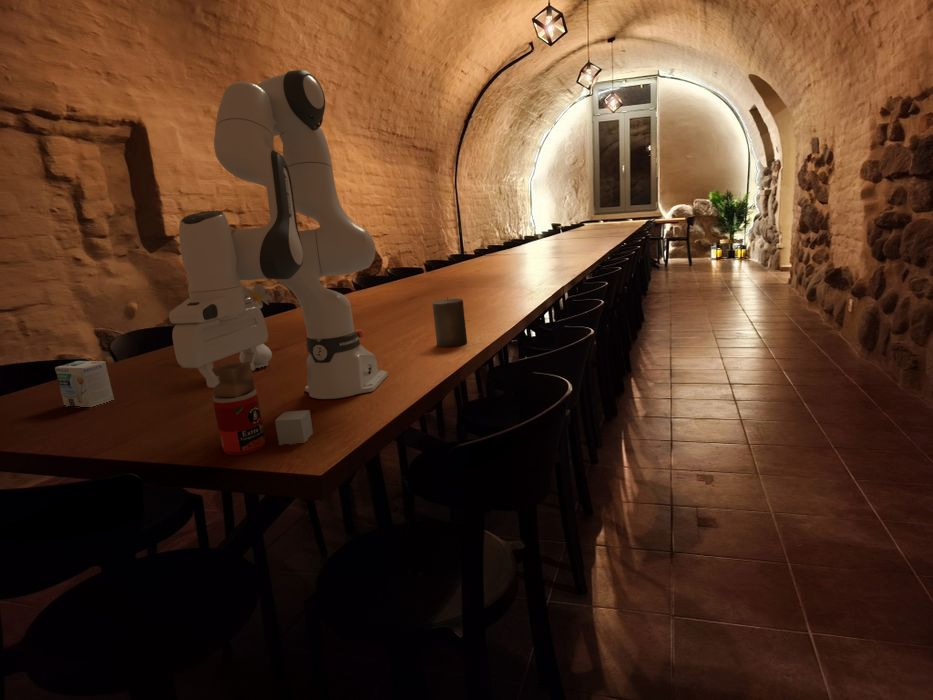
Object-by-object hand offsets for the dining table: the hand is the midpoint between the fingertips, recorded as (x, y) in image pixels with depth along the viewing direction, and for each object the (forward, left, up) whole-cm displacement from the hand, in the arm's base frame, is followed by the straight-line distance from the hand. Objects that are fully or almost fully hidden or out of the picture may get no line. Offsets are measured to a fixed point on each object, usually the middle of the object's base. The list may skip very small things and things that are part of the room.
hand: (232, 378), depth 107 cm
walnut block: (0, 0, -3) cm, 3 cm away
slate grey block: (-5, +8, -14) cm, 17 cm away
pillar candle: (-84, +12, -14) cm, 86 cm away
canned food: (0, 0, -14) cm, 14 cm away
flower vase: (-57, -42, -14) cm, 72 cm away
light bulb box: (-22, -67, -14) cm, 72 cm away
